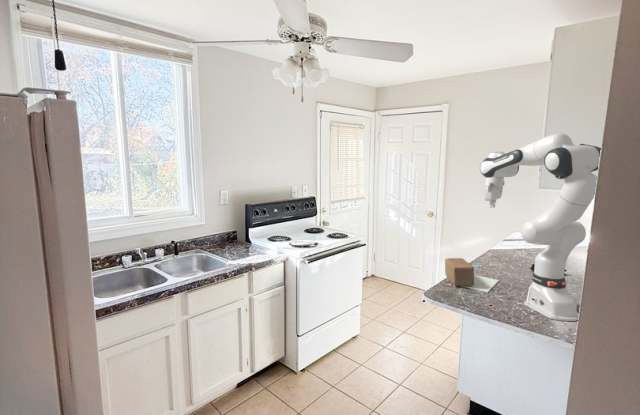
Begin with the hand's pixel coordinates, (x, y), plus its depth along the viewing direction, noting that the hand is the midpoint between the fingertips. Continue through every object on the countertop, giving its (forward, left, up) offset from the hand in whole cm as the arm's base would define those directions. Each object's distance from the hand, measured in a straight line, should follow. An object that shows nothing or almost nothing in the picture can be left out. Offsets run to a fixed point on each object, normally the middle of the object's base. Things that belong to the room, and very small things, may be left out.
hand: (492, 207), depth 184 cm
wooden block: (-18, +20, -33) cm, 43 cm away
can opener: (+7, -38, -40) cm, 55 cm away
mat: (-10, +10, -39) cm, 42 cm away
